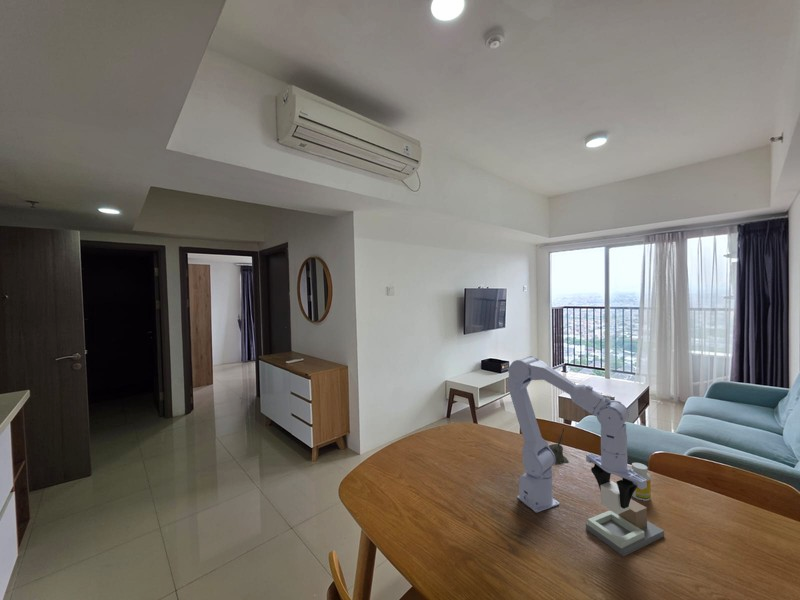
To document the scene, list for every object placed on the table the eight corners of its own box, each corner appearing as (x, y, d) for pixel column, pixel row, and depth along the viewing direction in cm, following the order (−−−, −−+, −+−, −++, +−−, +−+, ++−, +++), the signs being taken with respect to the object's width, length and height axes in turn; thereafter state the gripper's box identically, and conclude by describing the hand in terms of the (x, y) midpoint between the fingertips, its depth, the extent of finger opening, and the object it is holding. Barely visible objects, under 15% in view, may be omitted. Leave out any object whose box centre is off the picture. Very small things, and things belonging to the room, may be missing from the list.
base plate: (623, 556, 77) (623, 529, 77) (585, 528, 86) (585, 505, 86) (664, 536, 83) (663, 511, 83) (624, 512, 92) (624, 490, 92)
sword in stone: (542, 462, 121) (541, 430, 121) (538, 453, 128) (537, 423, 129) (571, 465, 118) (570, 432, 119) (565, 455, 126) (564, 425, 126)
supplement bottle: (625, 493, 101) (624, 463, 101) (636, 489, 103) (636, 459, 103) (643, 503, 96) (642, 471, 96) (655, 499, 98) (654, 468, 98)
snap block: (618, 514, 80) (617, 494, 80) (600, 503, 84) (600, 485, 84) (629, 509, 82) (629, 490, 82) (612, 499, 86) (611, 480, 86)
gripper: (654, 459, 78) (655, 514, 78) (597, 435, 91) (598, 482, 91) (635, 465, 75) (636, 522, 75) (580, 440, 88) (581, 488, 89)
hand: (614, 501), depth 83 cm, fingers closed on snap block, 4 cm apart
